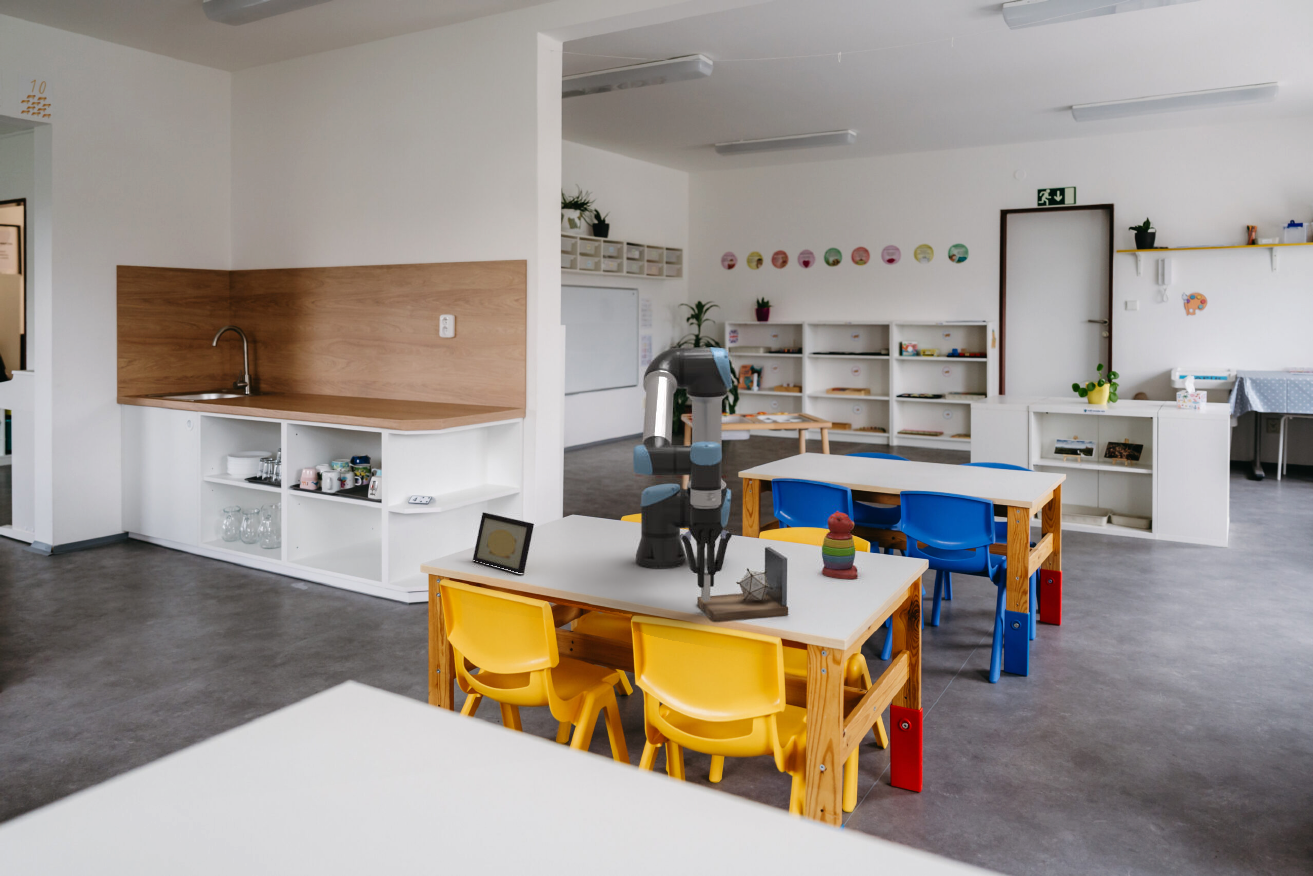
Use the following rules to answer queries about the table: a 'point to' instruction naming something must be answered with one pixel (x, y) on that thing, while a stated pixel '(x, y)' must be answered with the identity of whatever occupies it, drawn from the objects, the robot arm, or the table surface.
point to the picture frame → (503, 542)
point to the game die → (754, 585)
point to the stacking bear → (839, 548)
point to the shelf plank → (740, 607)
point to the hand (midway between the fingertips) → (705, 599)
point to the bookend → (776, 575)
